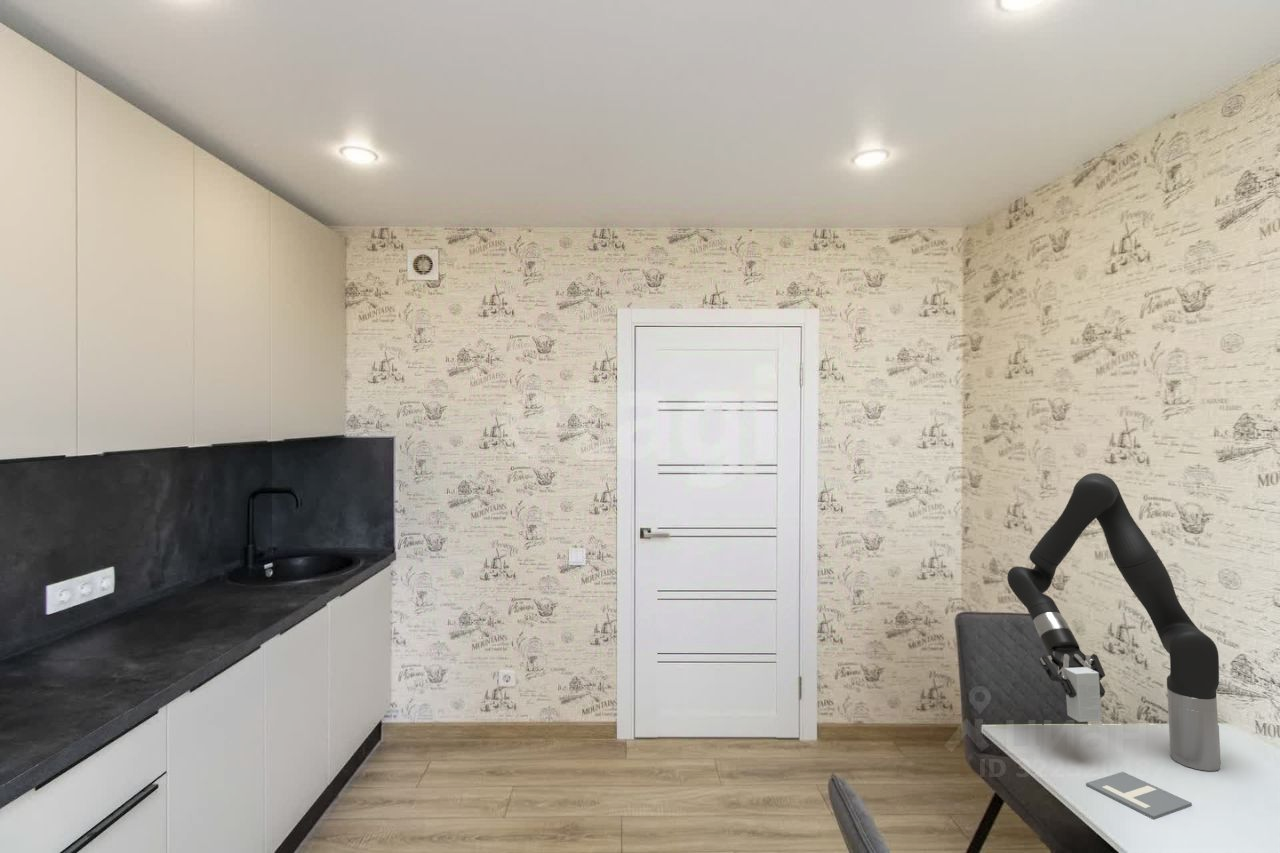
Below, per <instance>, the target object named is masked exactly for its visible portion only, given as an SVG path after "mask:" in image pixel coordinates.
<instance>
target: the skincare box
mask: <svg viewBox="0 0 1280 853" xmlns="http://www.w3.org/2000/svg"><path fill="white" fill-rule="evenodd" d="M1065 673H1066V675H1067V676H1068V678H1067V680H1070V682H1071V684H1072V686H1073V688H1074V690H1075V692H1076V696H1075V697H1074V698H1070V697H1069V695H1067V694H1066V693H1065V697H1066V698H1065V700H1066V713H1067V716H1068V717H1070V718H1072V719H1073V720H1075V721H1077V722H1078V723H1087V722H1101V721H1103V716H1102V715H1103V714H1102V702H1101V697H1100V685H1099V673H1098V672H1096V671H1094V670H1092V669H1090V668H1088V667H1077V668H1065Z"/></svg>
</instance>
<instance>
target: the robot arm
mask: <svg viewBox="0 0 1280 853" xmlns="http://www.w3.org/2000/svg"><path fill="white" fill-rule="evenodd" d="M1094 520H1096V521H1098V523H1099V525H1100V527H1101V530H1102V532H1103V534H1104V538H1105V541H1106V544H1107V547H1108V549H1109V552H1110V555H1111V557H1112V559H1113V561H1114V564H1115V565H1116V568H1118V571H1119V572H1120V574H1121V576H1122V577H1123V579H1124V582H1126V584H1127V585H1128V587H1129V588H1130V590H1131V591H1132V593H1133V594H1134V596H1136V598H1137V599H1138V601H1139V602H1140V603H1141V605H1142V606H1143V608H1144V609H1145V611H1146V612H1147V614H1148V615H1149V618H1150V620H1151V622H1152V625H1153V626H1154V629H1155V630H1156V633H1157V636H1158V637H1159V640H1160V642H1161V645H1162V646H1163V648H1164V649H1165V651H1166V652H1167V653H1168V654H1169V662H1170V663H1169V665H1170V669H1169V671H1170V673H1169V675H1167V678H1166V691H1167V708H1168V709H1167V712H1168V732H1169V753H1170V758H1171V759H1172V760H1173V761H1175V762H1176V763H1178V764H1181V765H1183V766H1184V767H1187V768H1188V767H1189V768H1192V769H1196V770H1201V771H1207V772H1215V771H1219V770H1220V769H1221V762H1222V760H1221V743H1220V726H1219V721H1218V717H1219V716H1218V704H1217V703H1218V702H1217V690H1218V688H1219V686H1220V658H1219V657H1220V656H1219V650H1218V648H1217V645H1216V642H1214V640H1213V639H1212V638H1211V637H1209V636H1208V635H1207V634H1206V633H1205V632H1203V631H1201V630H1200V629H1199V628H1198V626H1196V624H1195V623H1194V621H1192V620H1191V618H1190V617H1189V615H1188V614H1187V612H1186V611H1185V609H1184V608H1183V606H1182V605H1181V604H1180V602H1179V599H1178V596H1177V594H1176V591H1175V588H1174V585H1173V581H1172V579H1171V576H1170V573H1169V572H1168V570H1167V568H1166V566H1165V565H1164V563H1163V562H1162V560H1161V558H1160V556H1159V555H1158V553H1157V552H1156V550H1155V548H1154V547H1153V546H1152V544H1151V543H1150V541H1149V540H1148V538H1147V537H1146V535H1145V534H1144V532H1143V531H1142V529H1141V528H1140V526H1139V525H1138V524H1137V523H1136V521H1135V520H1134V518H1133V517H1132V515H1131V513H1130V510H1129V509H1128V506H1127V504H1126V503H1125V501H1124V498H1123V496H1122V494H1121V491H1120V489H1119V487H1118V485H1117V483H1116V482H1115V481H1114V480H1113V479H1112V478H1111V477H1109V476H1107V475H1105V474H1103V473H1097V472H1091V473H1087V474H1085V475H1084V476H1082V477H1081V478H1080V479H1078V481H1077V482H1076V483H1075V485H1074V487H1073V490H1072V493H1071V495H1070V497H1069V500H1068V501H1067V504H1066V506H1065V508H1064V509H1063V511H1062V512H1061V514H1060V516H1059V517H1058V518H1057V520H1056V521H1055V522H1053V525H1051V527H1050V528H1049V529H1048V530H1047V531H1046V532H1045V534H1043V536H1042V537H1041V538H1040V540H1039V541H1038V542H1037V543H1036V545H1035V546H1034V548H1033V549H1032V551H1031V552H1030V554H1029V560H1030V562H1031V563H1033V565H1035V566H1033V568H1029V567H1024V566H1013V567H1012V568H1010V569H1009V571H1007V572H1008V573H1007V576H1006V577H1007V580H1006V581H1007V583H1008V586H1009V588H1010V589H1011V591H1012V592H1013V594H1014V595H1015V596H1016V597H1017V598H1018V600H1019V601H1020V603H1021V604H1022V605H1024V607H1025V608H1026V609H1027V611H1028V614H1029V616H1030V618H1031V620H1032V621H1033V624H1034V627H1035V629H1036V632H1037V634H1038V636H1039V638H1040V640H1041V642H1042V644H1043V646H1044V648H1045V650H1046V653H1048V655H1047V654H1042V656H1041V657H1040V658H1039V660H1038V661H1039V663H1040V664H1041V666H1042V668H1043V670H1044V671H1045V673H1046V674H1047V676H1048V678H1049V679H1050V681H1051V682H1059V684H1061V687H1062V689H1063V691H1064V693H1065V695H1066V694H1067V695H1069V697H1070V698H1074V697H1075V696H1076V692H1075V690H1074V688H1073V686H1072V684H1071V682H1070V680H1067V678H1068V676H1067V675H1066V673H1065V668H1077V667H1088V668H1090V669H1092V670H1094V671H1096V672H1098V673H1099V685H1100V698H1103V697H1104V696H1105V695H1106V690H1105V688H1104V686H1103V684H1102V683H1101V680H1102V679H1104V677H1105V676H1106V674H1105V671H1104V668H1103V666H1102V663H1101V661H1100V659H1099V657H1098V655H1097V654H1096V653H1093V654H1091V655H1090V654H1085V653H1084V652H1082V650H1081V647H1080V645H1079V643H1078V641H1077V638H1076V637H1075V635H1074V634H1073V632H1072V630H1071V628H1070V626H1069V624H1068V622H1067V620H1066V619H1065V617H1063V615H1062V613H1061V612H1060V610H1059V607H1058V606H1057V604H1056V602H1055V601H1054V599H1053V598H1052V597H1050V595H1046V594H1045V592H1047V591H1048V590H1049V589H1050V587H1051V585H1052V581H1053V579H1054V576H1055V574H1056V571H1057V568H1058V567H1059V565H1060V564H1061V563H1062V562H1063V560H1064V559H1065V558H1066V556H1068V553H1069V552H1070V551H1071V550H1072V548H1073V546H1074V545H1075V543H1076V542H1077V541H1078V539H1079V537H1080V536H1081V535H1082V534H1083V532H1084V531H1085V530H1086V529H1087V527H1088V526H1089V525H1090V524H1091V523H1093V521H1094ZM1053 664H1055V666H1057V669H1056V667H1055V666H1054V665H1053Z"/></svg>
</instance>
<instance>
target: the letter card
mask: <svg viewBox="0 0 1280 853" xmlns="http://www.w3.org/2000/svg"><path fill="white" fill-rule="evenodd" d="M1085 786H1086V787H1088V788H1090V789H1092V790H1094V791H1096V792H1097V793H1100V794H1103V795H1104V796H1106V797H1108V798H1110V799H1112V800H1114V801H1116V802H1118V803H1120V804H1122V805H1124V806H1126V807H1128V808H1130V809H1132V810H1134V809H1135V810H1134V811H1136V812H1138V813H1140V812H1141V813H1140V814H1142V813H1143V814H1142V815H1144V814H1145V815H1144V816H1146V815H1147V816H1146V817H1148V816H1149V818H1150V817H1151V818H1150V819H1152V820H1156V819H1159V818H1161V817H1164V816H1167V815H1169V814H1172V813H1175V812H1178V811H1181V810H1183V809H1186V808H1189V807H1192V806H1193V805H1192V802H1191V801H1188V800H1186V799H1184V798H1182V797H1180V796H1177V795H1176V794H1173V793H1172V792H1169V791H1166V790H1164V789H1162V788H1161V787H1158V786H1155V785H1153V784H1151V783H1149V782H1146V781H1145V780H1142V779H1140V778H1138V777H1136V776H1134V775H1131V774H1129V773H1127V772H1125V771H1121V772H1116V773H1114V774H1111V775H1107V776H1105V777H1101V778H1098V779H1097V778H1096V779H1095V780H1092V781H1087V782H1085Z"/></svg>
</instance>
